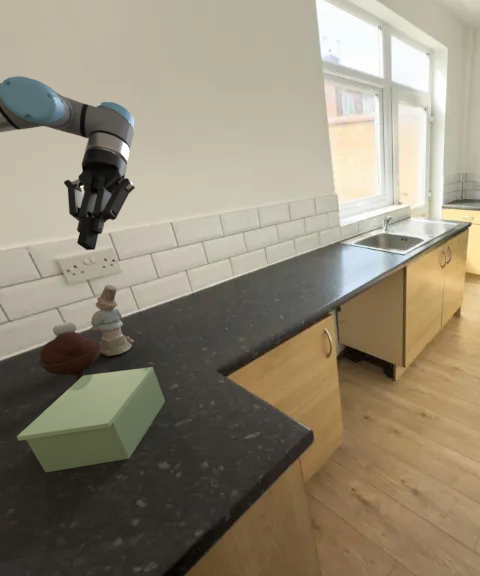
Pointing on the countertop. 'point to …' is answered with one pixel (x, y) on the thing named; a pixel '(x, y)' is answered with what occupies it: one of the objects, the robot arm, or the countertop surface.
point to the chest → (103, 435)
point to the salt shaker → (64, 328)
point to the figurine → (110, 324)
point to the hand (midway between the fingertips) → (86, 246)
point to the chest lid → (88, 404)
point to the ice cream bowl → (69, 354)
